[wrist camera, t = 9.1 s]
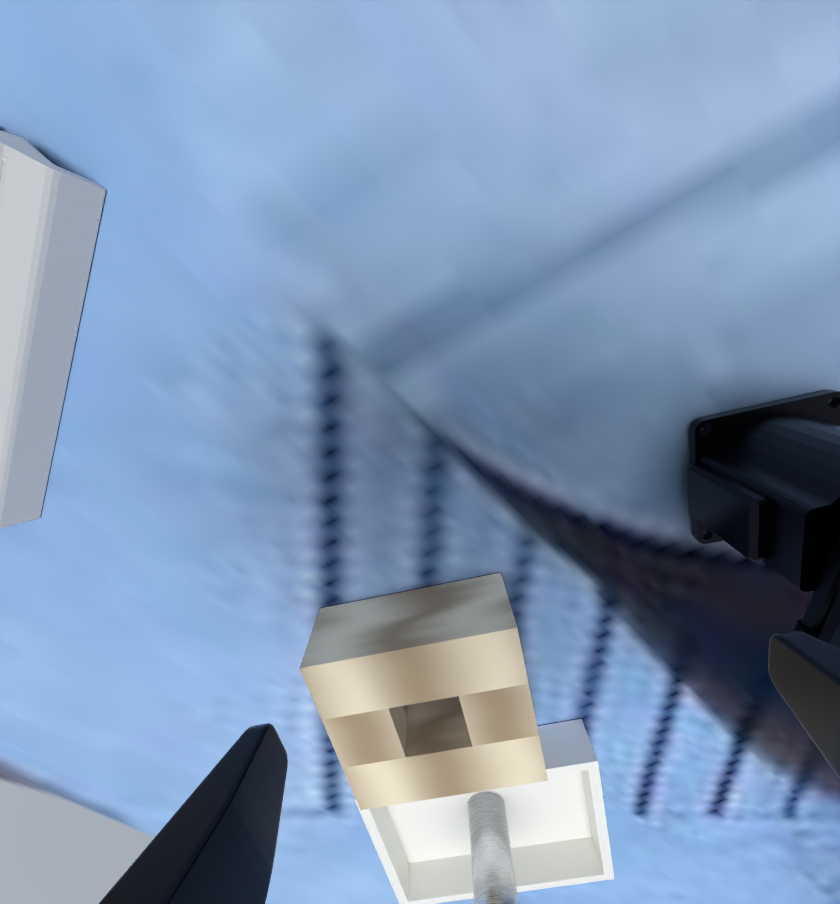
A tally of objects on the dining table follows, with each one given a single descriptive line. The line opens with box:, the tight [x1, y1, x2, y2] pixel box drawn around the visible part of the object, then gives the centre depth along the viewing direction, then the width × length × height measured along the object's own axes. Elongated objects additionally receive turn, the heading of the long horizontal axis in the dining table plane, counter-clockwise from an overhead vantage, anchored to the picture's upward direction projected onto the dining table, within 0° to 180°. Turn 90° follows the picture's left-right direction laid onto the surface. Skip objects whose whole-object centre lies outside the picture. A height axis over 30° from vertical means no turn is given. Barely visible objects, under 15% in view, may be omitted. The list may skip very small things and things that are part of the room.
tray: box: [355, 719, 614, 904], centre depth 26 cm, size 14×11×2 cm
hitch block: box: [300, 573, 548, 810], centre depth 22 cm, size 10×10×4 cm
